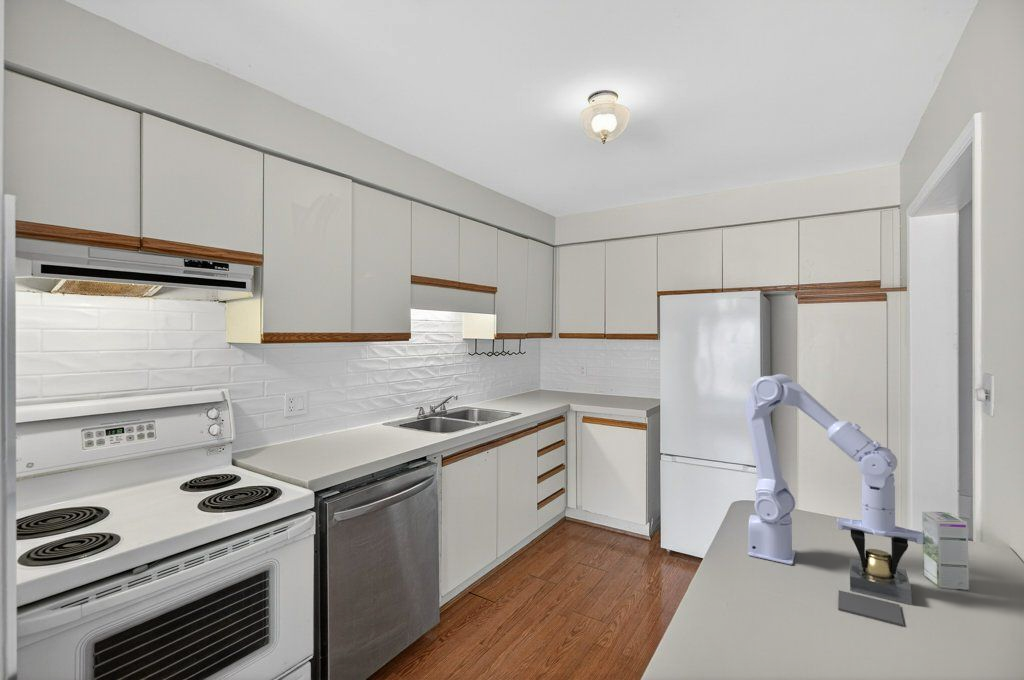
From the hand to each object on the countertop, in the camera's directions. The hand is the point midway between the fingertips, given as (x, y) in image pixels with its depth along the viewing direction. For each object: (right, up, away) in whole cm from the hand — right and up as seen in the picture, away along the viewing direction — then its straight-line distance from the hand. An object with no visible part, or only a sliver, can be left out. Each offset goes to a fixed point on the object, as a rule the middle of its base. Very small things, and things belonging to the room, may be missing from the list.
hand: (878, 569), depth 104 cm
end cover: (0, -4, 0) cm, 4 cm away
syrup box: (+16, -4, +1) cm, 16 cm away
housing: (0, -4, 0) cm, 4 cm away
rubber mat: (-8, -4, -8) cm, 12 cm away
